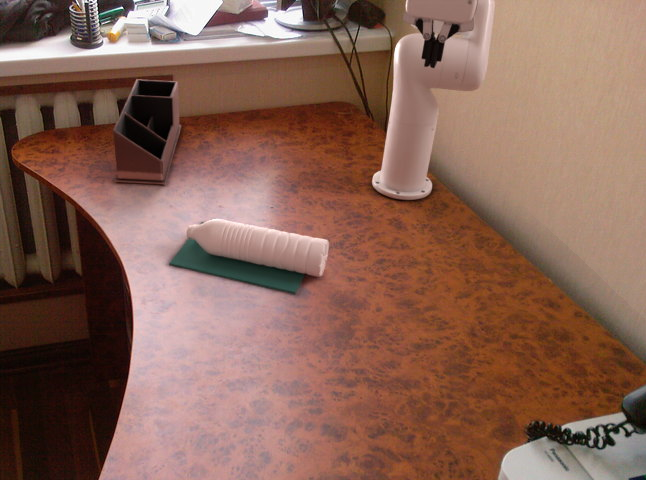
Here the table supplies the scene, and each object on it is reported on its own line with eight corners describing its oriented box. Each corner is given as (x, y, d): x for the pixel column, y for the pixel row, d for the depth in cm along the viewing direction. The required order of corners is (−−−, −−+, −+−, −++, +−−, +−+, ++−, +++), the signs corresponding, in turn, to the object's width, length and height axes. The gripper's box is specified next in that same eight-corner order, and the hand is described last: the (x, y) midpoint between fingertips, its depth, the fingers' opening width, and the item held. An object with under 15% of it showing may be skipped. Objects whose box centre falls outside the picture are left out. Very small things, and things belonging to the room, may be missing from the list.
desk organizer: (181, 126, 175) (180, 80, 169) (165, 185, 152) (163, 134, 145) (137, 124, 175) (134, 77, 168) (114, 182, 152) (109, 131, 145)
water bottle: (325, 240, 123) (184, 213, 128) (318, 279, 124) (178, 250, 129) (333, 238, 131) (200, 212, 136) (326, 274, 132) (194, 247, 137)
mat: (202, 223, 141) (202, 221, 140) (318, 249, 135) (318, 247, 135) (169, 264, 129) (169, 262, 129) (295, 294, 124) (295, 292, 124)
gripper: (510, -63, 105) (481, 64, 116) (406, -75, 108) (388, 50, 119) (506, -53, 99) (476, 80, 110) (396, -66, 103) (378, 64, 114)
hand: (430, 64), depth 115 cm, fingers closed
